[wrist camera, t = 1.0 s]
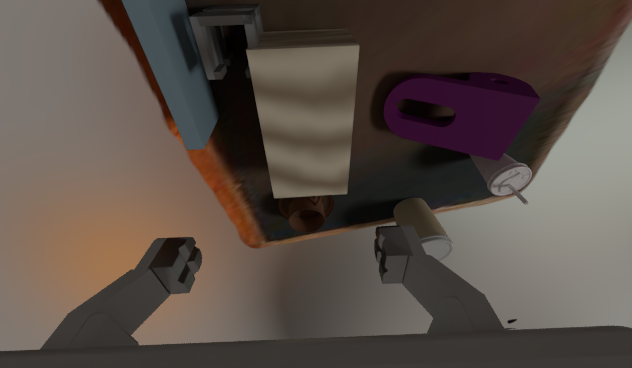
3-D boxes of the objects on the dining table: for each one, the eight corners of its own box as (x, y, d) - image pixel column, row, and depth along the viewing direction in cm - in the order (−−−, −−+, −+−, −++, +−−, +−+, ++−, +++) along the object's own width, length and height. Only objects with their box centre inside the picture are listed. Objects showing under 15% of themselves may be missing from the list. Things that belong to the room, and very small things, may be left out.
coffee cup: (389, 224, 62) (405, 269, 53) (389, 199, 56) (407, 244, 47) (427, 218, 61) (450, 261, 52) (431, 191, 55) (458, 235, 46)
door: (116, -101, 25) (45, -126, 18) (159, -102, 25) (105, -127, 18) (197, 117, 40) (176, 150, 33) (222, 115, 40) (207, 148, 33)
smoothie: (454, 158, 49) (497, 210, 39) (478, 130, 45) (533, 180, 35) (478, 165, 51) (526, 218, 41) (503, 139, 47) (563, 190, 37)
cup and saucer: (280, 176, 50) (278, 198, 45) (338, 181, 52) (342, 202, 47) (276, 216, 57) (274, 238, 53) (327, 219, 59) (329, 240, 55)
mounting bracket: (386, 111, 48) (491, 135, 44) (377, 131, 42) (498, 161, 38) (401, 57, 42) (525, 78, 38) (392, 71, 36) (540, 98, 31)
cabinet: (210, 5, 31) (187, 17, 24) (347, 0, 31) (362, 11, 25) (250, 166, 47) (243, 200, 41) (339, 161, 48) (346, 193, 41)
